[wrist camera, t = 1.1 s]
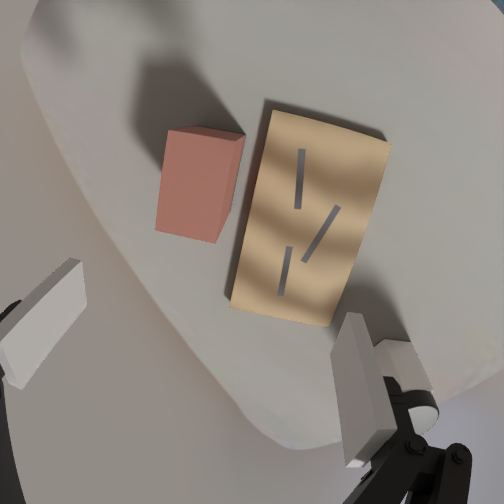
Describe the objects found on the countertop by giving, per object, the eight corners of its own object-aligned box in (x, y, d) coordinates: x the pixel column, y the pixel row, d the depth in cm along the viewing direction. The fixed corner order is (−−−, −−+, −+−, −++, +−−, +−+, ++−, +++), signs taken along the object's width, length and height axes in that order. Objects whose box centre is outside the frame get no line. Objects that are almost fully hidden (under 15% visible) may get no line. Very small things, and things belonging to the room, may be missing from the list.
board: (272, 109, 28) (272, 109, 27) (387, 142, 29) (391, 143, 28) (230, 301, 38) (229, 307, 36) (326, 321, 38) (328, 327, 37)
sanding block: (196, 125, 30) (168, 130, 21) (246, 134, 30) (235, 141, 22) (184, 200, 33) (155, 230, 25) (230, 210, 33) (215, 243, 25)
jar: (354, 346, 39) (373, 417, 28) (411, 329, 38) (443, 394, 27) (361, 387, 43) (376, 452, 32) (412, 372, 41) (435, 433, 30)
